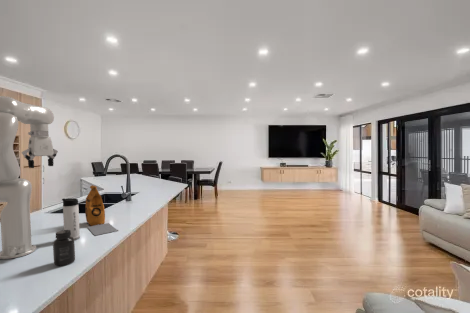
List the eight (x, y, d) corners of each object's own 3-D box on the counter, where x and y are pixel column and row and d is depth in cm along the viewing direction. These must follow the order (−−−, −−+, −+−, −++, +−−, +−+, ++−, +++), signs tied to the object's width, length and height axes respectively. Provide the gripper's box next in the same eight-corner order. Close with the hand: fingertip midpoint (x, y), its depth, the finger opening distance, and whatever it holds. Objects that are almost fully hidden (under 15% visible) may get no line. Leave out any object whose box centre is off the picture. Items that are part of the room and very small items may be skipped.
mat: (118, 231, 135) (118, 230, 135) (94, 235, 128) (94, 235, 128) (108, 223, 150) (108, 223, 150) (87, 227, 143) (87, 227, 143)
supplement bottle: (79, 258, 101) (77, 228, 101) (68, 266, 94) (67, 234, 94) (61, 259, 101) (60, 229, 101) (49, 267, 94) (47, 234, 94)
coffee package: (86, 227, 143) (85, 188, 143) (85, 222, 153) (83, 185, 153) (106, 224, 149) (105, 186, 148) (103, 219, 159) (102, 184, 158)
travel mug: (65, 238, 126) (63, 197, 125) (80, 236, 128) (79, 196, 127) (61, 242, 120) (60, 200, 119) (78, 240, 122) (76, 198, 122)
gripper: (26, 134, 126) (28, 168, 127) (60, 134, 142) (62, 165, 143) (16, 134, 128) (18, 168, 129) (51, 135, 145) (53, 165, 146)
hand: (41, 166), depth 136 cm, fingers open, 9 cm apart
